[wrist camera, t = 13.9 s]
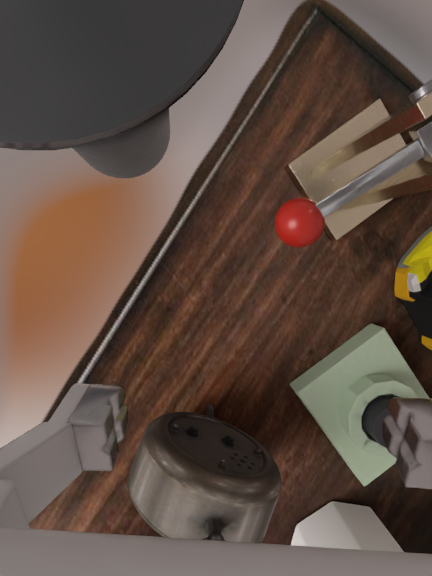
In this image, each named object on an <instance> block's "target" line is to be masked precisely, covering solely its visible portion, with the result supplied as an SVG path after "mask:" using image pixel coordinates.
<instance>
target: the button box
mask: <svg viewBox="0 0 432 576" xmlns="http://www.w3.org/2000/svg"><path fill="white" fill-rule="evenodd" d="M290 386H291V387H292V389H293V390H294V392H295V393H296V394H297V396H298V397H299V398H300V400H301V401H302V403H303V404H304V405H305V407H306V408H307V410H308V411H309V412H310V414H311V415H312V417H313V418H314V419H315V421H316V422H317V423H318V425H319V426H320V428H321V429H322V430H323V432H324V433H325V435H326V436H327V437H328V439H329V440H330V441H331V443H332V444H333V446H334V447H335V448H336V450H337V451H338V453H339V454H340V455H341V457H342V458H343V460H344V461H345V462H346V464H347V465H348V466H349V468H350V469H351V471H352V472H353V473H354V475H355V476H356V477H357V478H358V480H359V481H360V482H361V483H362V485H363V486H364V487H365V486H366V485H367V484H369V483H370V482H371V481H373V480H374V479H375V478H377V477H378V476H379V475H381V474H382V473H383V472H385V471H386V470H387V469H388V468H390V467H391V466H392V465H394V464H395V463H396V460H397V458H395V457H394V456H393V455H392V454H390V453H389V452H388V450H387V448H385V447H383V446H381V445H380V444H379V443H378V442H377V441H376V440H375V439H374V438H373V437H372V436H371V435H370V434H369V433H368V432H367V431H366V430H365V428H364V425H363V414H364V411H365V408H366V407H367V405H368V404H369V403H370V402H371V401H372V400H374V399H375V398H377V397H380V396H392V397H398V398H425V399H427V398H429V397H428V395H427V394H426V392H425V391H424V389H423V388H422V386H421V385H420V383H419V381H418V380H417V378H416V377H415V375H414V374H413V372H412V370H411V369H410V367H409V366H408V364H407V363H406V361H405V360H404V358H403V356H402V355H401V353H400V352H399V350H398V349H397V347H396V345H395V344H394V342H393V341H392V339H391V338H390V336H389V335H388V333H387V331H386V330H385V328H383V327H380V326H377V325H375V324H372V323H370V324H369V325H368V326H366V327H365V328H364V329H362V330H361V331H360V332H358V333H357V334H356V335H354V336H353V337H352V338H350V339H349V340H348V341H346V342H345V343H344V344H342V345H341V346H340V347H338V348H337V349H336V350H334V351H333V352H332V353H330V354H329V355H328V356H326V357H325V358H323V359H322V360H321V361H319V362H318V363H317V364H315V365H314V366H313V367H311V368H310V369H309V370H307V371H306V372H305V373H303V374H302V375H301V376H299V377H298V378H297V379H295V380H294V381H293V382H291V383H290Z"/></svg>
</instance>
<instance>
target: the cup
mask: <svg viewBox="0 0 432 576" xmlns="http://www.w3.org/2000/svg"><path fill="white" fill-rule="evenodd" d="M291 545H293V546H308V547H324V548H340V549H357V550H373V551H389V552H404V551H403V550H402V549H401V547H400V546H399V545H398V543H397V542H396V541H395V539H394V538H393V537H392V535H391V534H390V533H389V531H388V530H387V529H386V527H385V526H384V525H383V523H382V522H381V521H380V519H379V518H378V517H377V516H376V514H375V513H374V512H373V510H372V509H371V508H370V507H368V506H361V505H355V504H348V503H341V502H335V501H333V502H330V503H328V504H327V505H325V506H324V507H322V508H321V509H319V510H318V511H316V512H315V513H313V514H312V515H310V516H309V517H307V518H306V519H304V520H303V521H301V522H299V523H298V524H297V525H296V528H295V531H294V535H293V538H292V542H291Z"/></svg>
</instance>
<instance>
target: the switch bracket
mask: <svg viewBox="0 0 432 576" xmlns="http://www.w3.org/2000/svg"><path fill="white" fill-rule="evenodd" d="M409 98H410V100H411V102H409V103H407V104H406V105H404V106H403V107H401V108H400V109H398V110H396V111H395V112H393V113H392V114H390V115H389V114H388V112H387V110H386V108H385V107H384V105H383V103H382V101H381V99H378V100H377V101H375V102H374V103H373V104H371V105H370V106H368V107H367V108H366V109H364V110H363V111H362V112H360V113H359V114H357V115H356V116H355V117H353V118H352V119H350V120H349V121H348V122H346V123H345V124H344V125H342V126H341V127H339V128H338V129H337V130H335V131H334V132H332V133H331V134H330V135H328V136H327V137H326V138H324V139H323V140H321V141H320V142H319V143H317V144H316V145H314V146H313V147H312V148H310V149H309V150H308V151H306V152H305V153H303V154H302V155H301V156H299V157H298V158H296V159H295V160H294V161H292V162H291V163H290V164H288V165H287V166H286V167H285V170H286V171H287V173H288V174H289V176H290V178H291V179H292V181H293V182H294V184H295V185H296V187H297V189H298V190H299V192H300V193H301V195H302V196H303V198H307V199H310V200H312V201H314V202H318V201H319V200H321V199H322V198H324V197H326V196H327V195H329V194H330V193H332V192H333V191H335V190H336V189H338V188H340V187H341V186H343V185H344V184H346V183H347V182H349V181H351V180H352V179H354V178H355V177H357V176H358V175H360V174H361V173H363V172H365V171H366V170H368V169H369V168H371V167H372V166H374V165H376V164H377V163H379V162H380V161H382V160H383V159H385V158H386V157H388V156H390V155H391V154H393V153H394V152H396V151H397V150H399V149H401V148H402V147H404V146H405V145H406V144H405V142H404V140H403V138H402V137H401V135H400V133H401V132H403V131H405V130H406V129H408V128H410V127H412V126H414V125H416V124H418V123H420V122H422V121H423V120H425V119H427V118H428V117H430V116H431V115H432V80H430V81H429V82H427V83H426V84H424V85H423V86H421V87H420V88H418V89H417V90H416V91H414V92H413V93H411V94H410V95H409ZM430 189H432V163H431V162H428V161H425V160H424V158H421V159H419V160H418V161H416V162H414V163H413V164H411V165H410V166H408V167H406V168H405V169H403V170H401V171H400V172H398V173H396V174H395V175H393V176H391V177H390V178H388V179H387V180H385V181H383V182H382V183H380V184H378V185H377V186H375V187H373V188H372V189H370V190H368V191H367V192H365V193H364V194H362V195H360V196H359V197H357V198H355V199H354V200H352V201H350V202H349V203H347V204H345V205H344V206H342V207H341V208H339V209H337V210H336V211H334V212H332V213H331V214H329V215H327V216H326V217H325V226H324V231H325V232H326V234H327V235H328V237H329V239H330V240H331V241H333V240H338V239H339V238H341V237H342V236H343V235H345V234H346V233H347V232H349V231H350V230H351V229H353V228H354V227H356V226H357V225H358V224H360V223H361V222H362V221H364V220H365V219H366V218H368V217H369V216H371V215H372V214H373V213H375V212H376V211H377V210H379V209H380V208H381V207H383V206H384V205H385V204H387V203H388V202H390V201H391V200H392V199H394V198H397V197H401V196H405V195H409V194H413V193H417V192H421V191H426V190H430Z"/></svg>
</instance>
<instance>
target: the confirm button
mask: <svg viewBox="0 0 432 576" xmlns="http://www.w3.org/2000/svg"><path fill="white" fill-rule="evenodd" d="M391 398H392V396H380V397H377V398H375V399H374V400H372V401H371V402H370V403H369V404H368V405H367V407H366V408H365V411H364V414H363V425H364V428H365V430H366V431H367V432H368V433H369V434H370V435H371V436H372V437H373V438H374V439H375V440H376V441H377V442H378V443H379V444H380V445H381V446H383V447H385V448H386V446H385V443H384V440H383V433H382V426H383V422H384V419H385V418H386V417H387V416H388V415H389V414H391V413H390V411H389V410H388V408H387V407H388V404H389V401H390V399H391Z"/></svg>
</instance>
